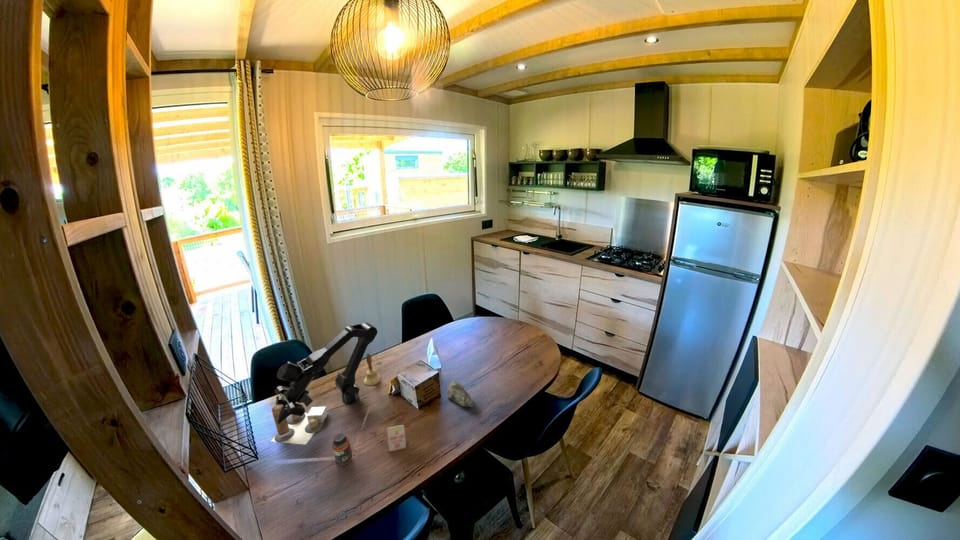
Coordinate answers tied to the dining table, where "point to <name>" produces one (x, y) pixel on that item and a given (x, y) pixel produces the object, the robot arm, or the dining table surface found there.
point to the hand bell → (371, 373)
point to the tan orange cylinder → (283, 426)
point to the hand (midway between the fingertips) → (276, 420)
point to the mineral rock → (459, 394)
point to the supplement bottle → (341, 449)
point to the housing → (317, 414)
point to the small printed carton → (396, 438)
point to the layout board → (299, 430)
